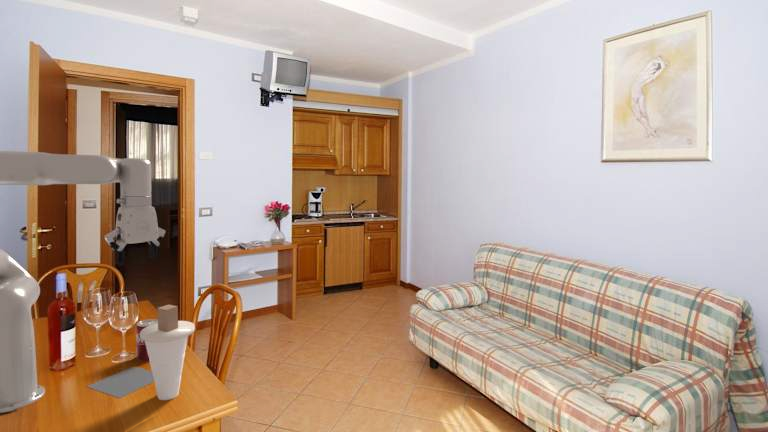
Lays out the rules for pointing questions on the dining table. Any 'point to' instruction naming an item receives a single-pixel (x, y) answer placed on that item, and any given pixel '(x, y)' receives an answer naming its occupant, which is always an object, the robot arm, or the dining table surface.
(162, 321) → the lid
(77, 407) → the dining table surface
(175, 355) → the cup
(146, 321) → the soda can
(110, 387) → the mat
